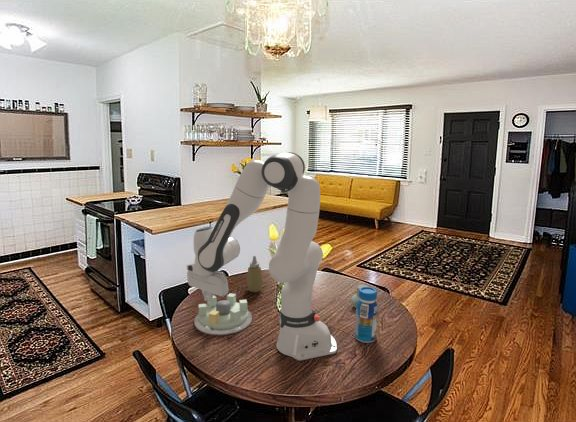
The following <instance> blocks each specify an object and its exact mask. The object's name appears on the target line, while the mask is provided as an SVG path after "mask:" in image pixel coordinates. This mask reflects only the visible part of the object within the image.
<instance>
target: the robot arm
mask: <svg viewBox="0 0 576 422" xmlns="http://www.w3.org/2000/svg"><path fill="white" fill-rule="evenodd" d="M305 164H306V163H305V161H304V159H303V158H302V156H301V155H299V154H298V153H294V152H281V153H277V154H274V155H271V156H269V157H268V158H267V159H266V160H265V161H262V160H259V159H253V160H250V161H248V162H247V163H246V164H245V166H244V167H243V168H242V171H241V172H240V174H239V176H238V178H237V181H236V183H235V186H234V187H233V190H232V192H231V195H230V196H229V199H228V201H227V202H226V205H225V207H223V210H222V212H221V214H220V215H219V217H218V219H217V221H216V223H215V225H214V226H205V227H201V228H199V229H196V230H195V231H194V234H193V252H194V255H195V256H194V262H191V263H189V264H186V270H187V273H186V274H187V284H188V285H189V286H190V287H192V288H194V289H198V290H201V293H202V295H203V298H204V299H203V300H204V301H206V302H207V301H208V302H211V301H213V295H214V296H219V297H225V296H227V295H228V293H230V292H229V281H228V279H227V276H226V275H225V273H224V272H223V271H219V270H220V269H221V268H223V266H226V265H228V264H229V263H230V262H232V261H234V260H235V259H236V258H238V257H239V255H240V252H241V247H240V244H239V242H238V240H237V239H236V238H235V237H233V236H232V233H234V230H235V229H236V227H238V225H239V224H241V223H242V222H243V221H244V220H246V219H247V218H249V217H251V216H252V215H254V214H255V213H256V212H257V211H258V209H259V207H260V206H261V205H262V203H263V201H264V199H265V196H266V194H267V191H268V189H269V188H270V187H272V188H274V189H277V190H279V191H281V192H283V193H287V194H288V195H287V196H288V197H287V199H288V201H287V206H286V207H287V209H286V217H285V223H284V230H283V232H282V235H281V239H280V242H279V244H278V246H277V249H276V251H275V253H274V254H273V256H272V257H271V258H270V260H269V263H268V271H269V274H270V277H272V279H273V280H274V281H276V282H277V283H280V284H283V286H282V289H281V292H280V293H281V294H280V295H281V296H280V297H281V299H280V304H281V305H280V307H281V308H280V310H279V326H280V327H279V333H278V337H277V338H278V339H277V342H276V349H277V350H278V351H279V352H280V353H282V354H283V355H285V356H288V357H291V358H293V359H295V361H299V362H300V361H304V360H310V359H315V358H320V357H324V356H329V355H334V354H336V353H337V351H338V345H337V344H338V343H337V341H336V339H335V338H334V336H333V335H331V333H330V330H329V327H328V326H327V325H326V323H324V322H323V321H321V318H320V315H319V314H318V313H317V311H316V310H315V309H314V308H313V307H312V302H313V301H312V299H313V298H312V297H313V289H314V284H315V281H316V277H317V273H318V270H319V267H320V264H321V262H323V261H322V260H323V258H324V257H323V256H324V252H323V250H322V247H321V246H320V244H318V242H316V241H313V239H314V237H315V236H316V234H317V231H318V226H319V225H318V224H319V216H320V209H321V185H320V183H319V181H318V180H317V179H315V178H314V177H311V176H309V175H305V174H304V173H305V170H306V165H305Z"/></svg>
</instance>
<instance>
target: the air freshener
mask: <svg viewBox="0 0 576 422" xmlns="http://www.w3.org/2000/svg"><path fill="white" fill-rule="evenodd" d="M362 287H370V285H366V284H358V286H357V288H356V293H355V294H354V295H352V296H351V298H350V304H351V305H352V306H353V307H354V308H356V309H357V307H356V304H357V302H358V300H359V299H360V298H359V289H360V288H362Z"/></svg>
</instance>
